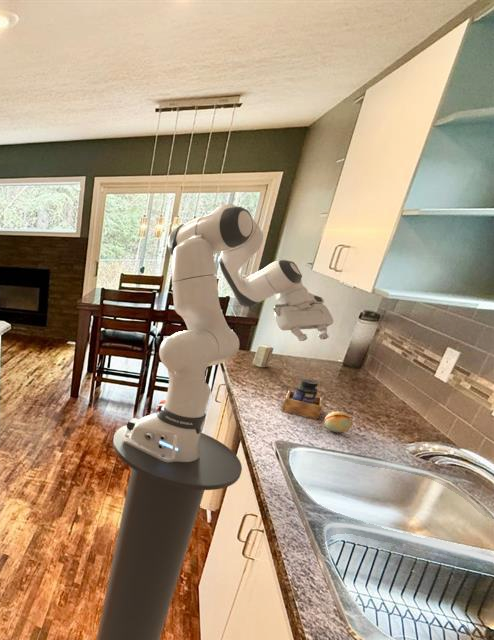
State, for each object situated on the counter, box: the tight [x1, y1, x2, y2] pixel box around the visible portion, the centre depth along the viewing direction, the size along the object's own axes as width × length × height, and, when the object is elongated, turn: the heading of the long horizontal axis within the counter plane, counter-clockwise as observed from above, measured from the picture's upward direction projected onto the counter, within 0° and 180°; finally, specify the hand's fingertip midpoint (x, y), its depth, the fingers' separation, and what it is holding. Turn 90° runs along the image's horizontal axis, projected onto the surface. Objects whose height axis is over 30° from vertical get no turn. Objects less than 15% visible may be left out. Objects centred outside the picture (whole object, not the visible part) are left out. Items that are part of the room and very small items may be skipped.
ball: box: [323, 411, 353, 433], centre depth 131 cm, size 7×7×7 cm
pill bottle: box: [292, 378, 319, 404], centre depth 144 cm, size 6×6×11 cm
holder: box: [281, 389, 324, 421], centre depth 146 cm, size 11×11×5 cm
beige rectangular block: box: [252, 344, 275, 368], centre depth 191 cm, size 5×4×10 cm
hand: (314, 339), depth 129 cm, fingers open, 8 cm apart
